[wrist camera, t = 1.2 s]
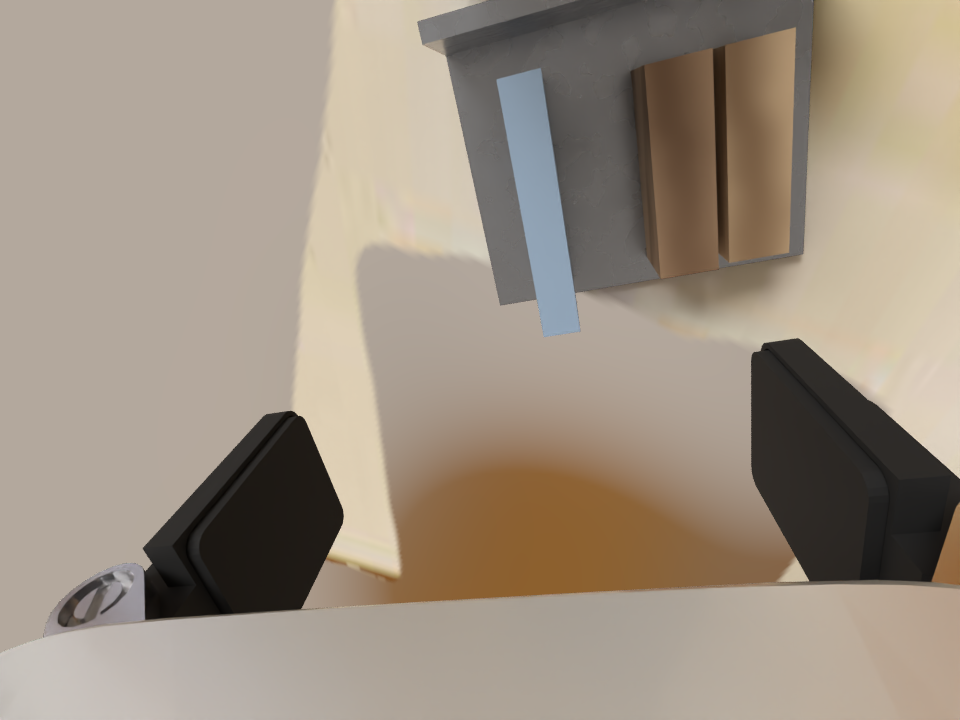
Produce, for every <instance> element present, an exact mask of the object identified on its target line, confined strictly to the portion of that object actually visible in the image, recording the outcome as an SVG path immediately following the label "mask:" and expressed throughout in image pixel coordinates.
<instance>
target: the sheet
mask: <svg viewBox="0 0 960 720" xmlns="http://www.w3.org/2000/svg"><path fill="white" fill-rule="evenodd" d="M496 80H497V85H498V91H499V96H500V102H501V107H502V113H503V118H504V123H505V129H506V134H507V140H508V145H509V150H510V156H511V161H512V167H513V172H514V178H515V183H516V188H517V194H518V199H519V205H520V210H521V216H522V221H523V226H524V232H525V237H526V243H527V248H528V254H529V259H530V264H531V270H532V275H533V281H534V286H535V292H536V297H537V302H538V308H539V312H540V318H541V324H542V329H543V335H544V337H547V336H554V335H560V334H567V333H573V332H580V325H579V317H578V310H577V302H576V295H575V288H574V281H573V274H572V267H571V261H570V254H569V247H568V241H567V234H566V227H565V221H564V214H563V207H562V201H561V194H560V188H559V181H558V174H557V168H556V161H555V154H554V148H553V141H552V134H551V128H550V121H549V115H548V108H547V101H546V95H545V88H544V81H543V76H542V72H541V68H538V69H534V70H530V71H527V72H523V73H519V74H515V75H511V76H507V77H504V78H500V79H496Z"/></svg>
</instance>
